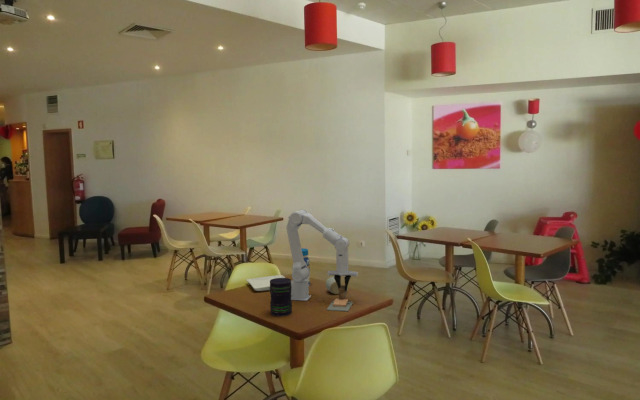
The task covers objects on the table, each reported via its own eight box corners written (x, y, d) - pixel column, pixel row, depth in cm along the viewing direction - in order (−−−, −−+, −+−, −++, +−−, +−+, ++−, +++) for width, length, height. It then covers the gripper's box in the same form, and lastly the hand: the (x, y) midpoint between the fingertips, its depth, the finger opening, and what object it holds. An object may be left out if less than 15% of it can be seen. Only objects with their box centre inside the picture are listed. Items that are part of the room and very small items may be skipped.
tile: (335, 300, 226) (333, 306, 220) (335, 298, 226) (332, 304, 220) (348, 301, 225) (345, 307, 219) (348, 299, 224) (345, 304, 218)
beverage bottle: (292, 285, 261) (291, 249, 259) (304, 282, 266) (303, 247, 264) (300, 288, 254) (300, 251, 252) (313, 285, 259) (312, 249, 257)
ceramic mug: (330, 295, 239) (330, 280, 239) (325, 291, 247) (325, 276, 246) (350, 293, 243) (350, 279, 242) (344, 289, 250) (344, 275, 250)
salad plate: (254, 294, 246) (254, 287, 245) (245, 284, 265) (245, 278, 265) (293, 289, 253) (293, 283, 253) (281, 280, 273) (281, 274, 273)
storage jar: (283, 308, 221) (282, 276, 219) (296, 312, 214) (295, 280, 212) (266, 313, 214) (265, 280, 213) (279, 318, 207) (278, 284, 206)
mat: (326, 310, 216) (326, 308, 216) (333, 301, 230) (332, 299, 229) (348, 311, 214) (348, 309, 214) (353, 302, 227) (353, 300, 227)
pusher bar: (339, 299, 225) (338, 288, 224) (341, 295, 231) (341, 285, 231) (343, 299, 224) (343, 289, 224) (346, 295, 231) (346, 285, 230)
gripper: (325, 264, 224) (326, 292, 225) (356, 265, 221) (356, 293, 222) (328, 261, 231) (329, 288, 232) (358, 261, 228) (358, 289, 229)
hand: (342, 290), depth 228 cm, fingers closed on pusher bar, 2 cm apart
